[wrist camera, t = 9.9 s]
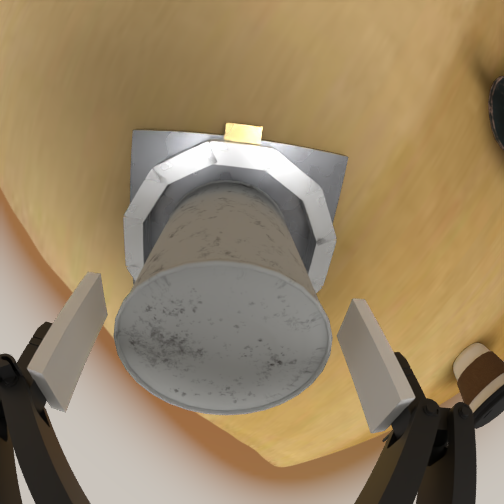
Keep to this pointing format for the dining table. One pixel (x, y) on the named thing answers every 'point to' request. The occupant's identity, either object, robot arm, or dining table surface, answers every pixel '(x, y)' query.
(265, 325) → the grey speckled cylinder
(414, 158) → the dining table surface
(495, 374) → the coffee cup
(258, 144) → the socket
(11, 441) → the robot arm
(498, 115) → the teapot
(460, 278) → the dining table surface
